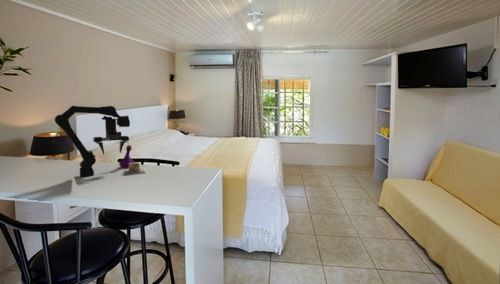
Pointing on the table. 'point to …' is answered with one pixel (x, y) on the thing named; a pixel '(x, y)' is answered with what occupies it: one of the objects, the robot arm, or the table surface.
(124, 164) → the perfume bottle
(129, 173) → the slate coaster
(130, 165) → the walnut cube
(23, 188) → the table surface
